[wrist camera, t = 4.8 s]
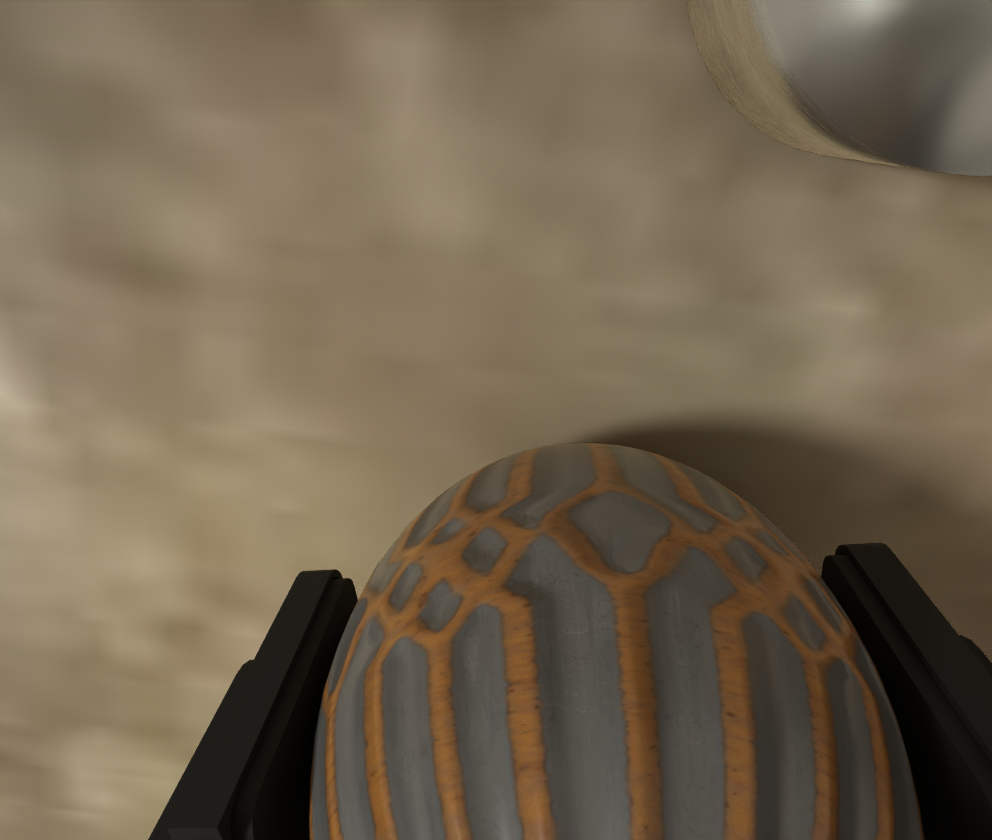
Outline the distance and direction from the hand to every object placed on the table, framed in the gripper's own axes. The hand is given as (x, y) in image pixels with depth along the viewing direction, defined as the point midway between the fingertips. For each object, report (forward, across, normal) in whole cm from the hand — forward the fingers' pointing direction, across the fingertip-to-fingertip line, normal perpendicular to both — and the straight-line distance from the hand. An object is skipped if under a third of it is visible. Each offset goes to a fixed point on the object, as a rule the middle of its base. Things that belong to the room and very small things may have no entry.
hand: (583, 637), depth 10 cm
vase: (+2, 0, 0) cm, 2 cm away
